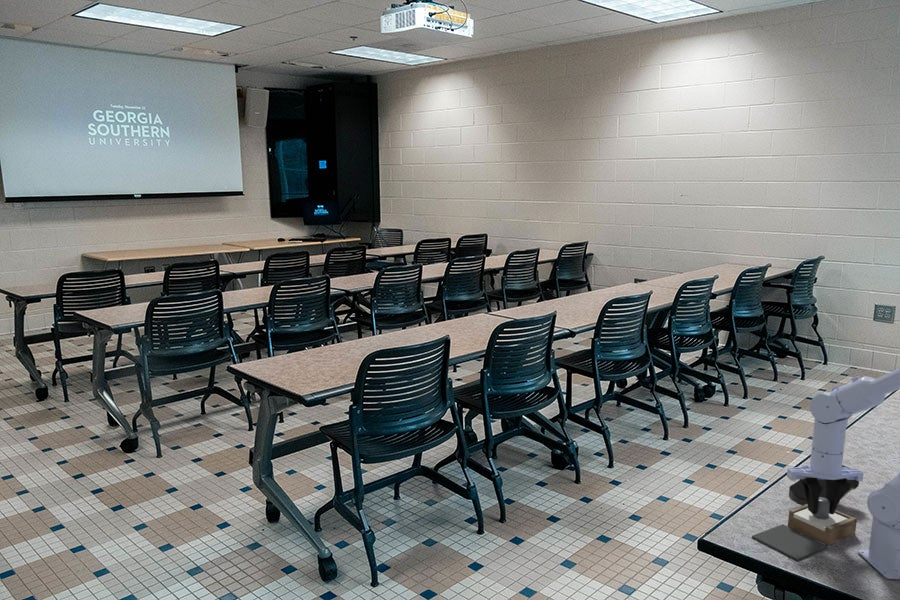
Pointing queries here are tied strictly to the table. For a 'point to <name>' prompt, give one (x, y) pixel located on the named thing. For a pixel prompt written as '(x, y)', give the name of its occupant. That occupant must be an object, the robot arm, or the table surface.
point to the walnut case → (833, 531)
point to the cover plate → (816, 521)
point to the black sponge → (800, 498)
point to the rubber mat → (790, 542)
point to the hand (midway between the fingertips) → (820, 512)
